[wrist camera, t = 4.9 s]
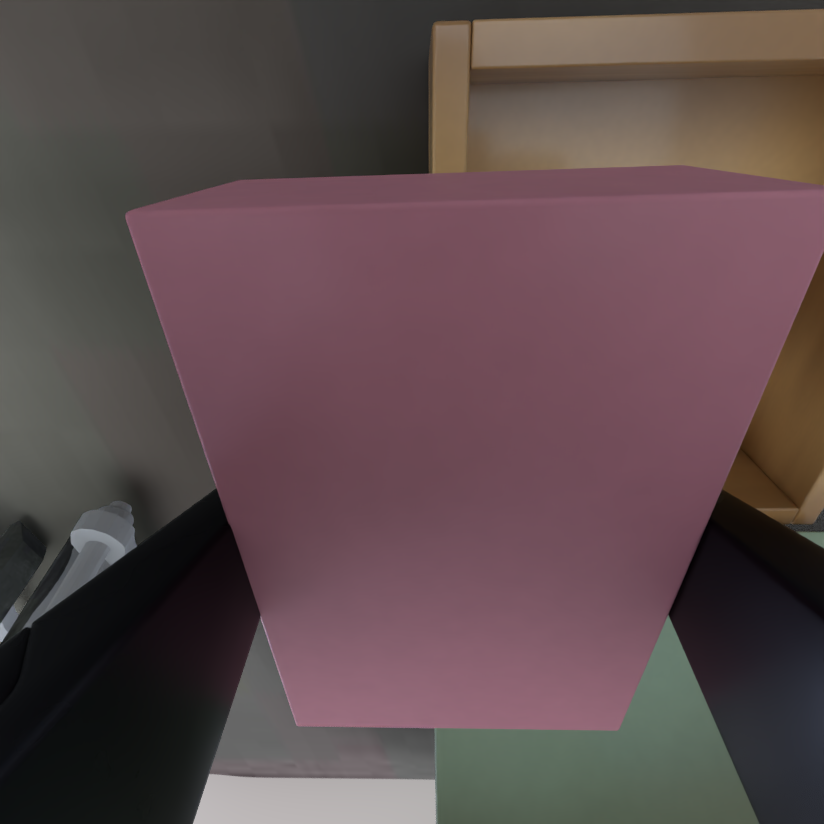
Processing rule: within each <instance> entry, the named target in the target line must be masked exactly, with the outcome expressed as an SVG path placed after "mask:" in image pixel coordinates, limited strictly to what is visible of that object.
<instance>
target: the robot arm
mask: <svg viewBox="0 0 824 824" xmlns="http://www.w3.org/2000/svg"><path fill="white" fill-rule="evenodd" d="M668 615H669V618H670V620H671V622H672V625H673V627H674V629H675V632H676V634H677V636H678V638H679V641H680V643H681V645H682V648H683V650H684V652H685V654H686V657H687V659H688V661H689V664H690V666H691V668H692V671H693V673H694V675H695V677H696V680H697V682H698V684H699V687H700V689H701V691H702V694H703V696H704V698H705V700H706V703H707V705H708V707H709V710H710V712H711V714H712V716H713V719H714V721H715V723H716V726H717V728H718V730H719V733H720V735H721V737H722V739H723V742H724V744H725V746H726V749H727V751H728V753H729V755H730V758H731V760H732V762H733V765H734V767H735V769H736V772H737V774H738V776H739V778H740V781H741V783H742V785H743V788H744V790H745V792H746V795H747V797H748V799H749V801H750V804H751V806H752V808H753V811H754V813H755V815H756V817H757V820H758V822H759V824H824V548H823V547H821V546H819V545H818V544H816V543H814V542H812V541H811V540H809V539H807V538H806V537H804V536H802V535H800V534H799V533H797V532H795V531H793V530H792V529H790V528H788V527H787V526H785V525H783V524H781V523H780V522H778V521H776V520H775V519H773V518H771V517H769V516H768V515H766V514H764V513H762V512H761V511H759V510H757V509H756V508H754V507H752V506H750V505H749V504H747V503H745V502H743V501H742V500H740V499H738V498H737V497H735V496H733V495H731V494H730V493H728V492H726V491H724V490H723V489H722V490H721V493H720V495H719V497H718V500H717V502H716V504H715V507H714V509H713V511H712V514H711V516H710V518H709V521H708V523H707V525H706V528H705V530H704V532H703V535H702V537H701V539H700V542H699V544H698V546H697V549H696V551H695V553H694V556H693V558H692V560H691V563H690V565H689V567H688V570H687V572H686V574H685V577H684V579H683V581H682V584H681V586H680V588H679V591H678V593H677V596H676V598H675V600H674V603H673V605H672V607H671V610H670V612H669V614H668ZM260 617H261V615H260V612H259V609H258V606H257V603H256V600H255V597H254V594H253V591H252V588H251V585H250V582H249V579H248V576H247V573H246V570H245V567H244V564H243V561H242V558H241V555H240V552H239V549H238V546H237V543H236V540H235V537H234V534H233V531H232V528H231V526H230V525H229V523H228V520H227V518H226V515H225V512H224V509H223V506H222V503H221V500H220V497H219V494H218V491H217V488H216V489H215V490H213V491H212V492H211V493H209V494H208V495H207V496H205V497H204V498H202V499H201V500H200V501H198V502H197V503H196V504H194V505H193V506H192V507H190V508H189V509H187V510H186V511H185V512H183V513H182V514H181V515H179V516H178V517H176V518H175V519H174V520H172V521H171V522H170V523H168V524H167V525H165V526H164V527H163V528H161V529H160V530H159V531H157V532H156V533H154V534H153V535H152V536H150V537H149V538H148V539H146V540H145V541H143V542H142V543H141V544H139V545H138V546H137V547H135V548H134V549H132V550H131V551H130V552H128V553H127V554H126V555H124V556H123V557H122V558H120V559H119V560H117V561H116V562H115V563H113V564H112V565H111V566H109V567H108V568H106V569H105V570H104V571H102V572H101V573H100V574H98V575H97V576H95V577H94V578H93V579H91V580H90V581H89V582H87V583H86V584H84V585H83V586H82V587H80V588H79V589H78V590H76V591H75V592H73V593H72V594H71V595H69V596H68V597H67V598H65V599H64V600H62V601H61V602H60V603H58V604H57V605H56V606H54V607H53V608H51V609H50V610H49V611H47V612H46V613H45V614H43V615H42V616H40V617H39V618H38V619H36V620H35V621H34V622H33V623H32V625H31V627H26V628H24V629H22V630H21V631H20V632H18V633H17V634H16V635H14V636H13V637H11V638H10V639H9V640H7V641H6V642H5V643H3V644H2V645H0V824H193V821H194V819H195V816H196V812H197V809H198V806H199V803H200V800H201V797H202V794H203V791H204V788H205V785H206V782H207V779H208V776H209V773H210V770H211V767H212V764H213V760H214V757H215V754H216V751H217V748H218V745H219V742H220V739H221V736H222V733H223V730H224V727H225V724H226V721H227V718H228V715H229V711H230V708H231V705H232V702H233V699H234V696H235V693H236V690H237V687H238V684H239V681H240V678H241V675H242V672H243V669H244V666H245V662H246V659H247V656H248V653H249V650H250V647H251V644H252V641H253V638H254V635H255V632H256V629H257V626H258V623H259V620H260Z"/></svg>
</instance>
